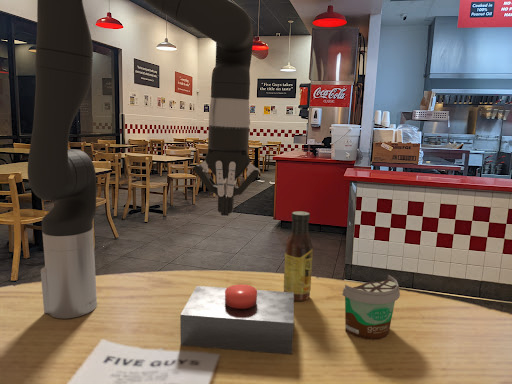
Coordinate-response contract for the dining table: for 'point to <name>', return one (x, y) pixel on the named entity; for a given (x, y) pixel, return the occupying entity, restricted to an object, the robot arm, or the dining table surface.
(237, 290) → the red button
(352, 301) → the food container
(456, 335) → the dining table surface
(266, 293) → the console
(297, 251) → the sauce bottle
